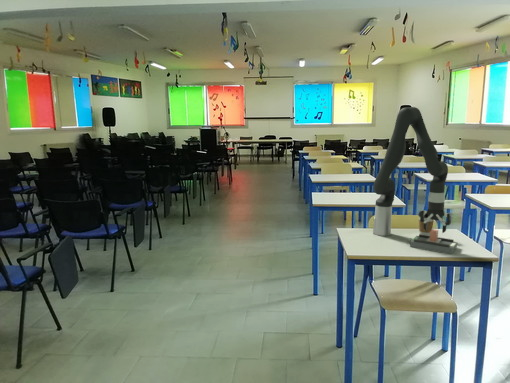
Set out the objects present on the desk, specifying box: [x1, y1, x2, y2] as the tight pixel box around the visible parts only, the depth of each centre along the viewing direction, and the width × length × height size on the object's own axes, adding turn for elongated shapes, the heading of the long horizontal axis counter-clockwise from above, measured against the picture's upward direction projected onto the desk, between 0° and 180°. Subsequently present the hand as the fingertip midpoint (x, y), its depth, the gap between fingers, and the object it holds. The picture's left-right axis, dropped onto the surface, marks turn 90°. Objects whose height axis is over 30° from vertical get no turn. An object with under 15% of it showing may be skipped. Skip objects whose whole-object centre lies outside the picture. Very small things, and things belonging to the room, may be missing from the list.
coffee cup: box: [417, 210, 434, 236], centre depth 218 cm, size 8×8×15 cm
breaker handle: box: [426, 228, 441, 243], centre depth 201 cm, size 6×7×6 cm
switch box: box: [409, 234, 458, 255], centre depth 202 cm, size 20×12×4 cm, turn 53°
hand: (434, 231), depth 200 cm, fingers open, 8 cm apart
